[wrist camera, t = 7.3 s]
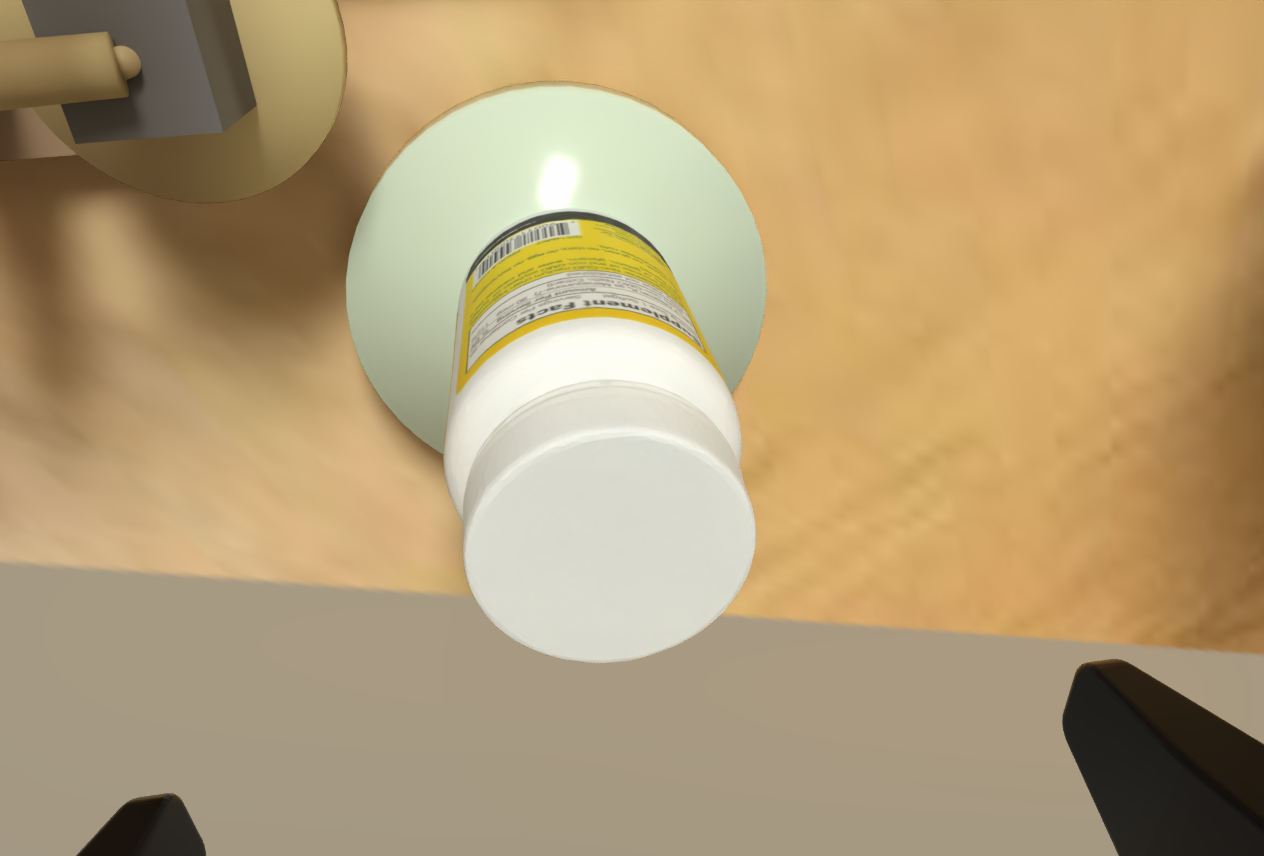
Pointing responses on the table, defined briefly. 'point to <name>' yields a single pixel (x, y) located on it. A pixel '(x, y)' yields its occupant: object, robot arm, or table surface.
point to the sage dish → (524, 185)
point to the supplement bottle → (592, 445)
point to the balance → (173, 89)
